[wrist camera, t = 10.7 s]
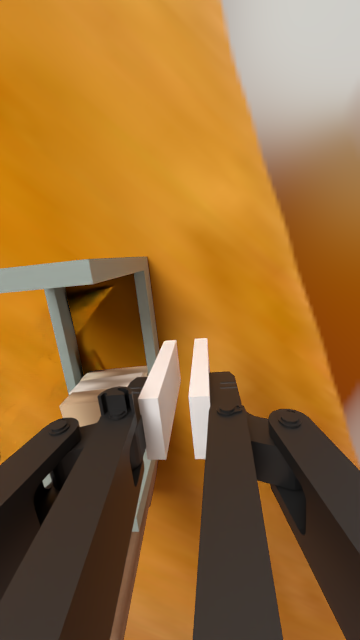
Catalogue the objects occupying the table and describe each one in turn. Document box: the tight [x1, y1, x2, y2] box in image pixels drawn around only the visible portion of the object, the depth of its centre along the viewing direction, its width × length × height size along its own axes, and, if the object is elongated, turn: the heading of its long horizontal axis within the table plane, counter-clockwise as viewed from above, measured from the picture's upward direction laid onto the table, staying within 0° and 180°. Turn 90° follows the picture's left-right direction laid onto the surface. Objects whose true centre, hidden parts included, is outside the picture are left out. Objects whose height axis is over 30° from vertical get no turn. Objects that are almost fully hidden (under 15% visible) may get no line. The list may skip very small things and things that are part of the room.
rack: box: [0, 257, 159, 532], centre depth 21 cm, size 10×17×13 cm, turn 6°
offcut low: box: [80, 366, 149, 381], centre depth 28 cm, size 7×3×2 cm, turn 98°
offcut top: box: [59, 388, 110, 427], centre depth 23 cm, size 6×3×2 cm, turn 99°
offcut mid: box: [69, 372, 144, 395], centre depth 25 cm, size 7×3×2 cm, turn 101°
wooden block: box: [110, 460, 158, 640], centre depth 22 cm, size 9×4×18 cm, turn 172°
